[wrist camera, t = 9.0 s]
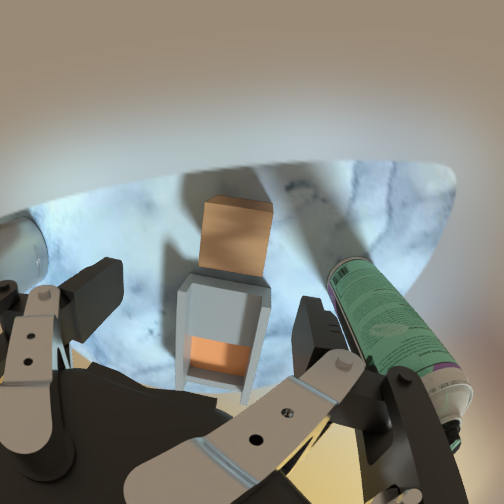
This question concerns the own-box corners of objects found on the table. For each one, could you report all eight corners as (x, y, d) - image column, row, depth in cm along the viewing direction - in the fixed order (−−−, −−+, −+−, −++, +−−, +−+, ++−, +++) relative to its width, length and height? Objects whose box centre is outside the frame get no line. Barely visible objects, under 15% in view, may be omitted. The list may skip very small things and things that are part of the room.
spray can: (322, 304, 27) (374, 492, 8) (331, 253, 25) (432, 432, 6) (370, 307, 27) (455, 468, 8) (383, 258, 25) (512, 403, 6)
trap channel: (184, 368, 31) (175, 390, 27) (189, 273, 27) (177, 290, 23) (249, 381, 31) (247, 405, 27) (271, 288, 27) (271, 308, 23)
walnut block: (198, 266, 21) (204, 202, 20) (210, 247, 26) (217, 194, 24) (262, 276, 21) (273, 212, 20) (263, 256, 26) (272, 203, 24)
